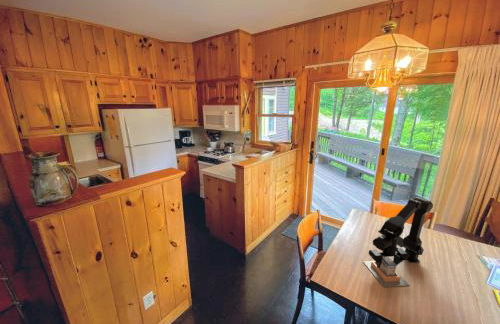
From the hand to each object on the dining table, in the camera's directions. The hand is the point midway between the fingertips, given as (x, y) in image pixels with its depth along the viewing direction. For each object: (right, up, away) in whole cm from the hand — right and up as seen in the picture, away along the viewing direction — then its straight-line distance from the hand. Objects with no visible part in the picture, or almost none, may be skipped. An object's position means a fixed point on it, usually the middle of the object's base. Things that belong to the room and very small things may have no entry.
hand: (385, 267), depth 113 cm
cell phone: (+26, +4, +31) cm, 41 cm away
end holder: (0, -4, +1) cm, 4 cm away
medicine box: (0, -4, +1) cm, 4 cm away
